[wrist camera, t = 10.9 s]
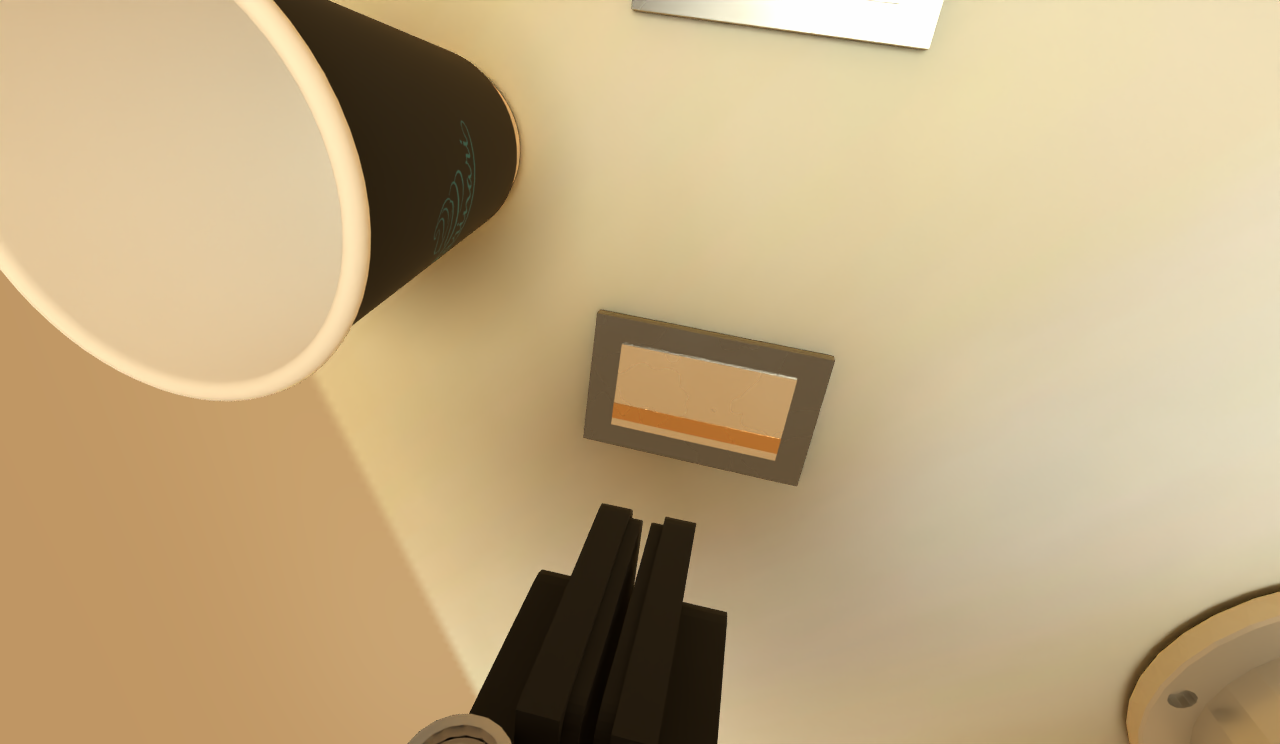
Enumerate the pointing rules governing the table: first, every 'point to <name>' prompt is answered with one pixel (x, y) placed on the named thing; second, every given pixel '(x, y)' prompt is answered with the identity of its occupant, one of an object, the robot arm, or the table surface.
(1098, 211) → the table surface
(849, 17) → the label plate
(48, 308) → the dixie cup
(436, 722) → the robot arm
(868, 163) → the table surface
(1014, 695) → the table surface
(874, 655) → the table surface
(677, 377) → the label plate
